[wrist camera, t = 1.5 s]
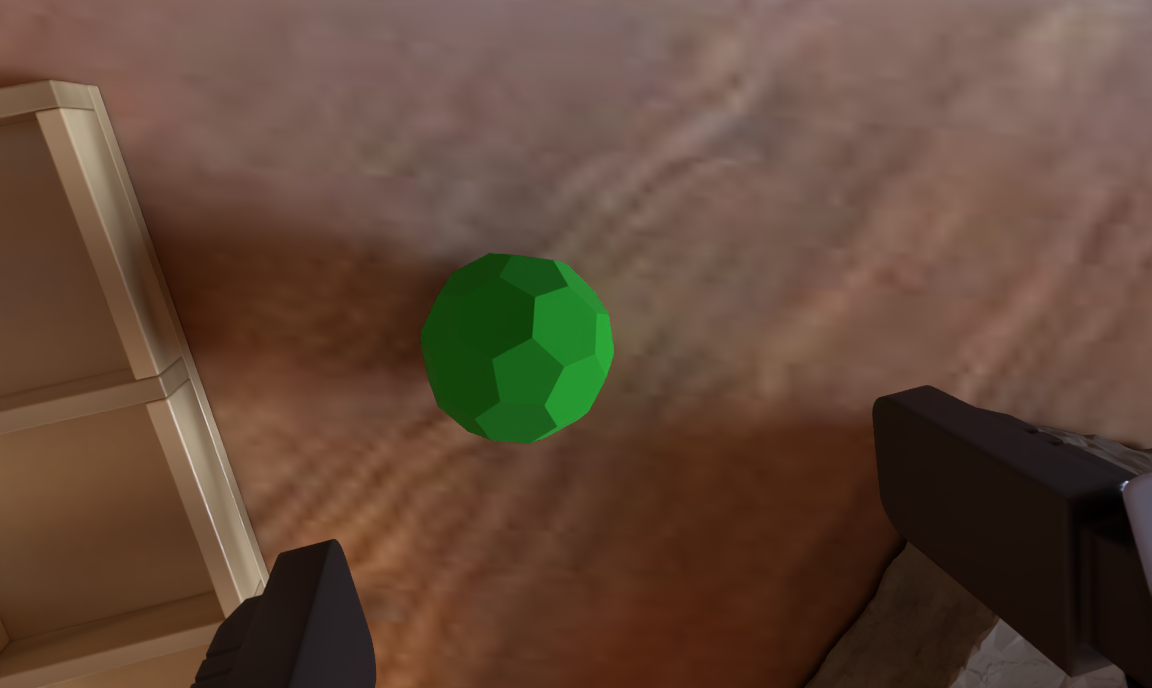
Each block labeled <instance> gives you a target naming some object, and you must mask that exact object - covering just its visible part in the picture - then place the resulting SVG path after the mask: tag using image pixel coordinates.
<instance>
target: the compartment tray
mask: <svg viewBox="0 0 1152 688" xmlns="http://www.w3.org/2000/svg"><path fill="white" fill-rule="evenodd" d="M268 579H269V575H268V572H267V569H266V566H265V563H264V561H263V558H262V555H261V552H260V549H259V546H258V543H257V541H256V538H255V535H254V532H253V529H252V526H251V523H250V521H249V518H248V515H247V512H246V509H245V506H244V503H243V501H242V498H241V495H240V492H239V489H238V486H237V483H236V481H235V478H234V475H233V472H232V469H231V466H230V463H229V461H228V458H227V455H226V452H225V449H224V446H223V443H222V441H221V438H220V435H219V432H218V429H217V426H216V423H215V421H214V418H213V415H212V412H211V409H210V406H209V403H208V401H207V398H206V395H205V392H204V389H203V386H202V383H201V381H200V378H199V375H198V372H197V369H196V366H195V363H194V361H193V358H192V355H191V352H190V349H189V346H188V343H187V341H186V338H185V335H184V332H183V329H182V326H181V324H180V321H179V318H178V315H177V312H176V309H175V306H174V304H173V301H172V298H171V295H170V292H169V289H168V286H167V284H166V281H165V278H164V275H163V272H162V269H161V266H160V264H159V261H158V258H157V255H156V252H155V249H154V246H153V244H152V241H151V238H150V235H149V232H148V229H147V226H146V224H145V221H144V218H143V215H142V212H141V209H140V206H139V204H138V201H137V198H136V195H135V192H134V189H133V186H132V184H131V181H130V178H129V175H128V172H127V169H126V166H125V164H124V161H123V158H122V155H121V152H120V149H119V146H118V144H117V141H116V138H115V135H114V132H113V129H112V126H111V124H110V121H109V118H108V115H107V112H106V109H105V106H104V104H103V101H102V98H101V95H100V92H99V89H98V87H97V86H94V85H87V84H79V83H72V82H65V81H58V80H51V79H47V80H41V81H35V82H30V83H24V84H18V85H12V86H7V87H1V88H0V688H190V687H191V685H192V684H194V683H195V676H196V674H197V672H198V670H199V667H200V665H201V663H202V661H203V660H205V659H206V653H207V650H208V648H209V646H210V644H211V642H212V640H213V638H214V636H215V633H216V631H217V629H218V627H219V626H220V625H221V624H222V623H223V622H224V621H225V620H226V619H227V618H228V617H229V616H230V615H231V613H232V612H233V611H234V610H235V609H236V608H237V607H238V606H239V605H240V604H241V603H242V602H243V601H244V600H245V599H247V598H251V597H255V596H259V595H262V594H263V591H264V589H265V586H266V584H267V581H268Z"/></svg>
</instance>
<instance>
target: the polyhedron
mask: <svg viewBox="0 0 1152 688" xmlns="http://www.w3.org/2000/svg"><path fill="white" fill-rule="evenodd" d="M420 344H421V348H422V353H423V357H424V361H425V366H426V370H427V375H428V379H429V382H430V385H431V388H432V391H433V393H434V396H435V399H436V402H437V405H438V407H440V408H441V409H442V410H443V411H444V412H446V413H447V414H448V415H449V416H450V417H451V418H453V419H454V420H455V421H456V422H457V423H459V424H460V425H461V426H462V427H463V428H465V429H466V430H467V431H468V432H471V433H473V434H476V435H479V436H481V437H484V438H487V439H489V440H496V441H508V442H519V443H532V442H535V441H538V440H541V439H544V438H546V437H548V436H550V435H551V434H553V433H555V432H557V431H559V430H561V429H562V428H564V427H566V426H568V425H570V424H572V423H574V422H575V421H577V420H579V419H580V418H582V417H583V416H584V415H585V414H586V413H588V412H589V410H590V408H591V406H592V404H593V402H594V400H595V399H596V397H597V395H598V393H599V391H600V389H601V387H602V385H603V383H604V381H605V380H606V378H607V374H608V371H609V368H610V365H611V362H612V358H613V355H614V347H613V340H612V333H611V326H610V319H609V314H608V312H607V311H606V309H605V308H604V306H603V304H602V303H601V301H600V300H599V298H598V296H597V295H596V293H595V292H594V290H593V289H592V288H591V287H590V286H589V285H588V284H587V283H586V282H585V281H584V280H583V279H581V278H580V277H579V276H578V275H577V274H576V273H575V272H574V271H573V270H572V269H571V268H570V267H569V266H568V265H567V264H566V263H562V262H558V261H554V260H548V259H541V258H533V257H526V256H519V255H510V254H492V253H489V254H487V255H485V256H483V257H481V258H479V259H478V260H476V261H474V262H472V263H470V264H468V265H466V266H464V267H463V268H461V269H459V270H457V271H455V272H453V274H452V275H451V277H450V278H449V280H448V281H447V283H446V284H445V285H444V287H443V288H442V290H441V291H440V293H439V295H438V297H437V299H436V301H435V303H434V305H433V307H432V310H431V312H430V314H429V316H428V318H427V320H426V322H425V324H424V327H423V329H422V331H421V339H420Z"/></svg>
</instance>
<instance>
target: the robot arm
mask: <svg viewBox="0 0 1152 688" xmlns="http://www.w3.org/2000/svg"><path fill="white" fill-rule="evenodd" d="M872 416H873V428H874V438H875V448H876V459H877V469H878V479H879V489H880V496H881V501H882V504H883V507H884V510H885V512H886V514H887V516H888V518H889V520H890V522H891V524H892V525H893V526H894V528H895V529H896V530H897V531H898V532H899V533H900V534H901V535H902V536H903V537H904V538H905V539H907V540H908V541H909V542H910V543H911V544H912V545H914V546H915V547H916V548H917V549H918V550H920V551H921V552H922V553H923V554H924V555H926V556H927V557H928V558H929V559H930V560H932V561H933V562H934V563H935V564H936V565H937V566H939V567H940V568H941V569H942V570H943V571H945V572H946V573H947V574H948V575H949V576H951V577H952V578H953V579H954V580H955V581H957V582H958V583H959V584H960V585H961V586H962V587H964V588H965V589H966V590H967V591H968V592H970V593H971V594H972V595H973V596H974V597H976V598H977V599H978V600H979V601H980V602H982V603H983V604H984V605H985V606H986V607H987V608H989V609H990V610H991V611H992V612H993V613H995V614H996V615H997V616H998V617H999V618H1001V619H1002V620H1003V621H1004V622H1005V623H1007V624H1008V625H1009V626H1010V627H1011V628H1012V629H1014V630H1015V631H1016V632H1017V633H1018V634H1020V635H1021V636H1022V637H1023V638H1024V639H1026V640H1027V641H1028V642H1029V643H1030V644H1032V645H1033V646H1034V647H1035V648H1036V649H1037V650H1039V651H1040V652H1041V653H1042V654H1043V655H1045V656H1046V657H1047V658H1048V659H1049V660H1051V661H1052V662H1053V663H1054V664H1055V665H1057V666H1058V667H1059V668H1060V669H1061V670H1062V671H1064V672H1065V673H1066V674H1067V675H1068V676H1070V677H1071V678H1073V677H1076V676H1079V675H1082V674H1086V673H1089V672H1092V671H1095V670H1098V669H1101V668H1105V667H1108V666H1111V665H1116V666H1117V667H1118V668H1120V669H1121V670H1122V688H1152V472H1150V473H1146V474H1143V475H1140V476H1139V475H1137V474H1134V473H1132V472H1130V471H1128V470H1126V469H1124V468H1122V467H1120V466H1117V465H1115V464H1113V463H1111V462H1109V461H1107V460H1105V459H1102V458H1100V457H1098V456H1096V455H1094V454H1092V453H1090V452H1087V451H1085V450H1083V449H1081V448H1079V447H1077V446H1075V445H1072V444H1070V443H1066V444H1064V443H1063V440H1062V439H1060V438H1058V437H1055V436H1053V435H1051V434H1049V433H1047V432H1045V431H1043V432H1039V430H1038V428H1036V427H1034V426H1032V425H1030V424H1028V423H1025V422H1023V421H1021V420H1019V419H1017V418H1015V417H1013V416H1010V415H1008V414H1003V413H999V412H994V411H989V410H985V409H980V408H976V407H974V406H972V405H969V404H967V403H965V402H963V401H961V400H959V399H957V398H955V397H953V396H951V395H949V394H947V393H945V392H943V391H940V390H938V389H936V388H934V387H932V386H929V385H925V386H921V387H917V388H913V389H909V390H905V391H902V392H898V393H894V394H890V395H886V396H882V397H879V398H878V399H877V400H876V401H875V403H874V405H873V412H872ZM375 684H376V663H375V654H374V648H373V643H372V639H371V635H370V632H369V628H368V625H367V622H366V619H365V616H364V613H363V610H362V607H361V604H360V601H359V597H358V594H357V591H356V588H355V585H354V582H353V579H352V576H351V573H350V570H349V567H348V564H347V560H346V557H345V555H344V552H343V550H342V547H341V545H340V544H339V542H338V541H337V540H336V539H332V540H328V541H324V542H320V543H316V544H313V545H309V546H305V547H301V548H297V549H294V550H290V551H286V552H282V553H280V554H279V555H278V557H277V559H276V562H275V564H274V566H273V569H272V571H271V574H270V576H269V579H268V581H267V584H266V586H265V589H264V591H263V594H262V595H259V596H255V597H251V598H247V599H245V600H244V601H243V602H242V603H241V604H240V605H239V606H238V607H237V608H236V609H235V610H234V611H233V612H232V613H231V615H230V616H229V617H228V618H227V619H226V620H225V621H224V622H223V623H222V624H221V625H220V626H219V627H218V629H217V631H216V633H215V636H214V638H213V640H212V642H211V644H210V646H209V648H208V650H207V653H206V659H205V660H203V661H202V663H201V665H200V667H199V670H198V672H197V674H196V676H195V683H194V684H192V685H191V687H190V688H375Z"/></svg>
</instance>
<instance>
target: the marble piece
mask: <svg viewBox="0 0 1152 688" xmlns="http://www.w3.org/2000/svg"><path fill="white" fill-rule="evenodd" d="M1034 427H1035V426H1034ZM1036 428H1038V430H1039V432H1043V431H1045V432H1047V433H1049V434H1051V435H1053V436H1055V437H1058V438H1060V439H1062V440H1063V443H1064V444H1066V443H1070V444H1072V445H1075V446H1077V447H1079V448H1081V449H1083V450H1085V451H1087V452H1090V453H1092V454H1094V455H1096V456H1098V457H1100V458H1102V459H1105V460H1107V461H1109V462H1111V463H1113V464H1115V465H1117V466H1120V467H1122V468H1124V469H1126V470H1128V471H1130V472H1132V473H1134V474H1137V475H1139V476H1140V475H1143V474H1146V473H1150V472H1152V449H1147V450H1140V451H1136V450H1133V449H1129V448H1126V447H1124V446H1123V445H1121V444H1119V443H1117V442H1115V441H1111V440H1107V439H1105V438H1102V437H1100V436H1098V435H1080V434H1075V433H1069V432H1065V431H1058V430H1055V429H1053V428H1051V427H1046V426H1040V427H1036ZM804 688H1122V670H1121V669H1120V668H1118V667H1117V666H1116V665H1111V666H1108V667H1105V668H1101V669H1098V670H1095V671H1092V672H1089V673H1086V674H1082V675H1079V676H1076V677H1073V678H1071V677H1070V676H1068V675H1067V674H1066V673H1065V672H1064V671H1062V670H1061V669H1060V668H1059V667H1058V666H1057V665H1055V664H1054V663H1053V662H1052V661H1051V660H1049V659H1048V658H1047V657H1046V656H1045V655H1043V654H1042V653H1041V652H1040V651H1039V650H1037V649H1036V648H1035V647H1034V646H1033V645H1032V644H1030V643H1029V642H1028V641H1027V640H1026V639H1024V638H1023V637H1022V636H1021V635H1020V634H1018V633H1017V632H1016V631H1015V630H1014V629H1012V628H1011V627H1010V626H1009V625H1008V624H1007V623H1005V622H1004V621H1003V620H1002V619H1001V618H999V617H998V616H997V615H996V614H995V613H993V612H992V611H991V610H990V609H989V608H987V607H986V606H985V605H984V604H983V603H982V602H980V601H979V600H978V599H977V598H976V597H974V596H973V595H972V594H971V593H970V592H968V591H967V590H966V589H965V588H964V587H962V586H961V585H960V584H959V583H958V582H957V581H955V580H954V579H953V578H952V577H951V576H949V575H948V574H947V573H946V572H945V571H943V570H942V569H941V568H940V567H939V566H937V565H936V564H935V563H934V562H933V561H932V560H930V559H929V558H928V557H927V556H926V555H924V554H923V553H922V552H921V551H920V550H918V549H917V548H916V547H915V546H914V545H912V544H911V543H910V542H909V541H908V542H907V544H906V547H905V549H904V550H903V551H902V552H901V554H900V555H899V556H898V557H897V558H895V559H893V561H892V564H891V565H890V566H889V567H888V568H887V569H886V571H885V572H884V575H883V577H882V580H881V583H880V585H879V588H878V591H877V594H876V596H875V597H874V598H873V599H872V600H871V601H870V602H869V603H868V605H867V607H866V609H865V611H864V612H863V613H862V614H861V616H860V617H859V618H858V619H857V620H856V622H855V623H854V624H853V625H852V627H851V628H850V629H849V630H848V631H847V632H846V633H845V634H844V635H843V636H842V637H841V638H840V640H839V641H838V642H837V644H836V645H835V647H834V648H833V649H832V650H831V651H830V652H829V654H828V655H827V657H826V660H825V662H824V663H823V664H822V665H821V667H820V669H819V671H818V672H817V674H816V675H815V676H814V677H813V678H812V679H811V680H810V681H809V683H808V684H807V685H806V686H805V687H804Z"/></svg>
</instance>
